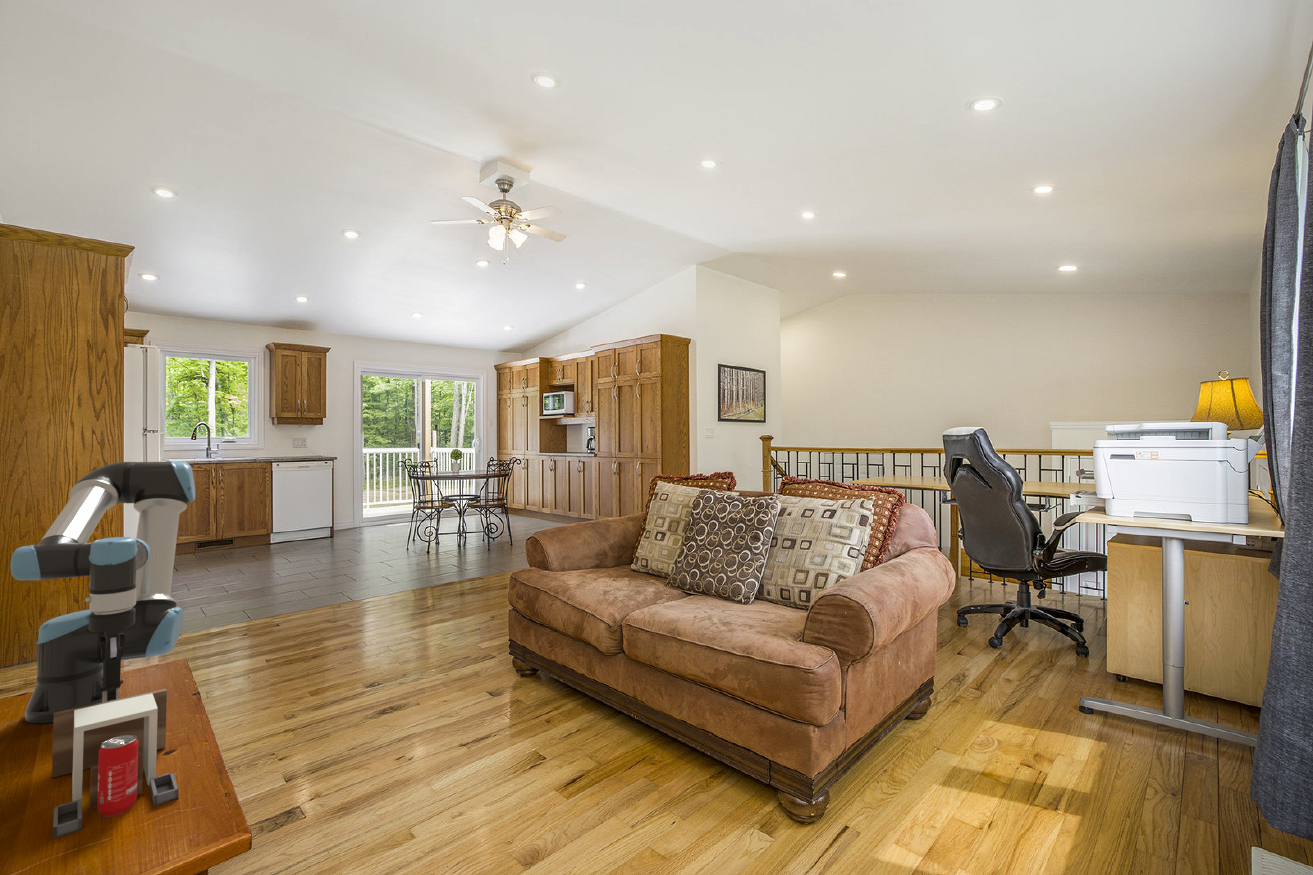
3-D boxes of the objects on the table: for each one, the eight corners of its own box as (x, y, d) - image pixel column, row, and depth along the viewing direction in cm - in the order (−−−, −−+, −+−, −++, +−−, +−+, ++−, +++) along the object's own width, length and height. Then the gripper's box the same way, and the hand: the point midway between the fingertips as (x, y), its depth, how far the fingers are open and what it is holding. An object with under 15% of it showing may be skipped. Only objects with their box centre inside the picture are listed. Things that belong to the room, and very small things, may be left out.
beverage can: (112, 820, 102) (114, 750, 102) (89, 816, 103) (91, 746, 103) (144, 802, 107) (145, 735, 107) (121, 798, 108) (123, 732, 108)
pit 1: (53, 817, 103) (54, 807, 103) (81, 809, 105) (81, 799, 105) (52, 839, 97) (53, 828, 97) (81, 829, 99) (82, 819, 99)
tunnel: (72, 785, 112) (74, 710, 113) (150, 763, 120) (152, 693, 121) (72, 808, 105) (74, 727, 106) (155, 783, 113) (157, 708, 114)
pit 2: (149, 788, 112) (149, 778, 112) (172, 781, 114) (173, 771, 114) (154, 806, 106) (154, 796, 106) (178, 798, 108) (178, 788, 108)
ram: (52, 774, 116) (53, 712, 116) (164, 744, 128) (166, 688, 128) (49, 821, 101) (51, 750, 101) (176, 783, 113) (178, 719, 113)
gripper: (88, 606, 131) (86, 713, 131) (89, 620, 122) (87, 734, 122) (133, 600, 136) (131, 702, 136) (138, 613, 127) (136, 722, 127)
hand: (110, 717), depth 129 cm, fingers closed
